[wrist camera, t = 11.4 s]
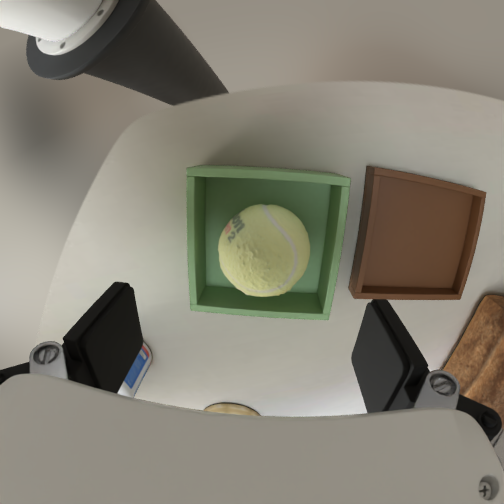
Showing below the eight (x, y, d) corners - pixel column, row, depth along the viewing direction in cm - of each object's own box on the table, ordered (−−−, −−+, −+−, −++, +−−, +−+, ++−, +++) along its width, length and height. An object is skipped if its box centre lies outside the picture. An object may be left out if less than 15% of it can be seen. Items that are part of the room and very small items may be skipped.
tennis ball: (271, 180, 22) (271, 191, 15) (322, 242, 23) (339, 276, 17) (211, 230, 23) (190, 259, 17) (263, 286, 25) (260, 331, 18)
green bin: (200, 165, 22) (186, 167, 18) (337, 173, 21) (351, 178, 18) (201, 288, 26) (190, 310, 22) (321, 296, 25) (328, 320, 22)
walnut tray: (366, 165, 21) (374, 167, 19) (474, 188, 20) (486, 192, 19) (348, 288, 25) (353, 298, 23) (451, 291, 24) (460, 299, 22)
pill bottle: (108, 327, 29) (66, 382, 20) (148, 335, 28) (112, 398, 19) (118, 362, 31) (84, 416, 21) (156, 370, 30) (127, 431, 21)
